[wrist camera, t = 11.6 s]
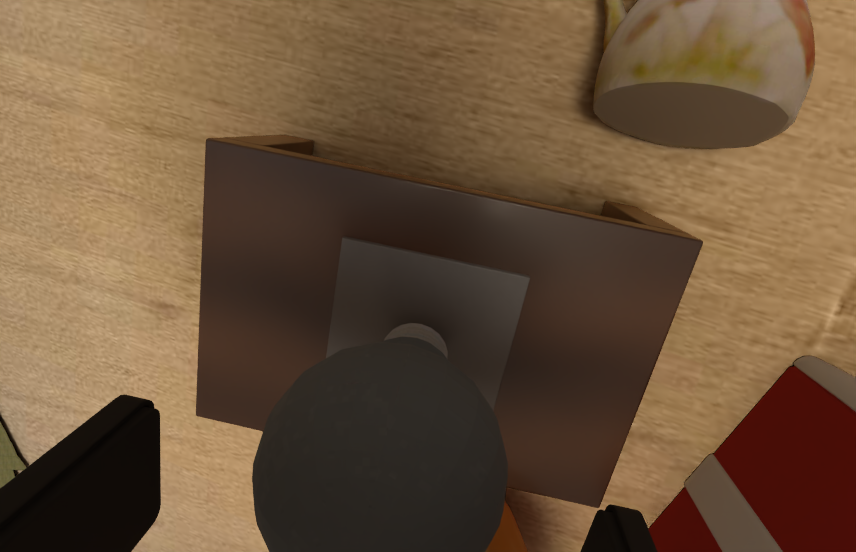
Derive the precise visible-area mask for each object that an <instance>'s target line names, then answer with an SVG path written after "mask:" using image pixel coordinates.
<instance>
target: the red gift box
mask: <svg viewBox="0 0 856 552" xmlns="http://www.w3.org/2000/svg"><path fill="white" fill-rule="evenodd" d="M684 486H685V488H684V489H683V490H682V491H681V492H680V493H679V494H678V496H677V497H676V498H675V499H674V500H673V501H672V503H671V504H670V505H669V506H668V507H667V508H666V509H665V511H664V512H663V513H662V514H661V515H660V516H659V517H658V519H657V520H656V521H655V522H654V523H653V524H652V526H651V527H650V528H649V529H648V530H649V532H650V535H651V537H652V540H653V542H654V544H655V547H656V549H657V552H856V377H854V376H852V375H850V374H848V373H846V372H844V371H842V370H840V369H838V368H836V367H834V366H832V365H830V364H828V363H827V362H825V361H823V360H821V359H819V358H817V357H813V356H804V357H801V358H799V359H797V360H796V361H795V362H794V366H793V367H789V368H788V369H787V370H786V372H785V373H784V374H783V375H782V376H781V377H780V378H779V380H778V381H777V382H776V383H775V384H774V385H773V386H772V388H771V389H770V390H769V391H768V392H767V393H766V395H765V396H764V397H763V398H762V399H761V400H760V401H759V403H758V404H757V405H756V406H755V407H754V408H753V409H752V411H751V412H750V413H749V414H748V415H747V416H746V417H745V419H744V420H743V421H742V422H741V423H740V424H739V426H738V427H737V428H736V429H735V430H734V431H733V432H732V434H731V435H730V436H729V437H728V438H727V439H726V440H725V442H724V443H723V444H722V445H721V446H720V447H719V449H718V450H717V451H716V452H715V453H714V454H710V455H708V456H707V457H706V459H705V460H704V461H703V462H702V463H701V464H700V465H699V467H698V468H697V469H696V470H695V471H694V472H693V474H692V475H691V476H690V477H689V478H688V479H687V480H686V482H685V483H684Z"/></svg>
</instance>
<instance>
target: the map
mask: <svg viewBox="0 0 856 552" xmlns="http://www.w3.org/2000/svg"><path fill="white" fill-rule="evenodd" d="M25 469H26V466H25V465H24V464H23V462H22V461H21V459H20V458H19V457H18V456H17V454H16V452H15V449H14V447H13V445H12V443H11V442H10V440H9V438H8V436H7V433H6V431H5V429H4V428H3V426H2V424H1V422H0V488H2V487H3V486H4V485H5V484H7V483H8V482H9V481H11V480H12V479H13V478H14V477H15V475H14V472H13V470H25Z"/></svg>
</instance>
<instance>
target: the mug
mask: <svg viewBox="0 0 856 552" xmlns="http://www.w3.org/2000/svg"><path fill="white" fill-rule="evenodd" d="M604 9H605V21H606V24H605V34H604V42H603V50H604V54H603V57H602V60H601V62H600V65H599V69H598V73H597V78H596V83H595V90H594V100H593V109H594V113H595V114H596V115H597V116H598V117H599V119H600V120H601V121H602V122H603V123H605V124H606V125H608V126H610V127H612V128H613V129H615V130H617V131H620V132H623V133H626V134H629V135H631V136H634V137H636V138H639V139H642V140H646V141H649V142H653V143H656V144H660V145H667V146H674V147H684V148H699V149H719V148H739V147H749V146H754V145H757V144H759V143H761V142H764V141H766V140H768V139H770V138H773V137H774V136H776V135H778V134H780V133H782V132H783V131H785V130H786V129H787V128H788V127H789V126H790V125H792V124H793V123H794V122H795V119H796V116H797V114H798V112H799V110H800V107H801V105H802V103H803V101H804V99H805V97H806V94H807V92H808V89H809V86H810V83H811V80H812V76H813V71H814V65H815V43H814V34H813V27H812V23H811V18H810V12H809V9H808V4H807V0H638V1H637V2H636V3H635V5H634V6H633V7H632V8H631V9H630V11H629V12H628V14H627V13H626V11H625V8H624V5H623V1H622V0H604Z"/></svg>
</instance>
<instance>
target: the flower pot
mask: <svg viewBox="0 0 856 552" xmlns="http://www.w3.org/2000/svg"><path fill="white" fill-rule="evenodd" d="M485 552H528V551H527V549H526V546H525V543H524V541H523V538H522V536H521V533H520V531H519V528H518V526H517V523H516V521H515V518H514V516H513V514H512V511H511V509H510V508H509V506H508V504H507V503H506V501H505V502H504V510H503V514H502V518H501V522H500V526H499V528H498V529H497V531H496V533H495V535H494V537H493V539H492V541H491V543H490V545H489V546H488V548H487V550H486V551H485Z"/></svg>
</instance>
